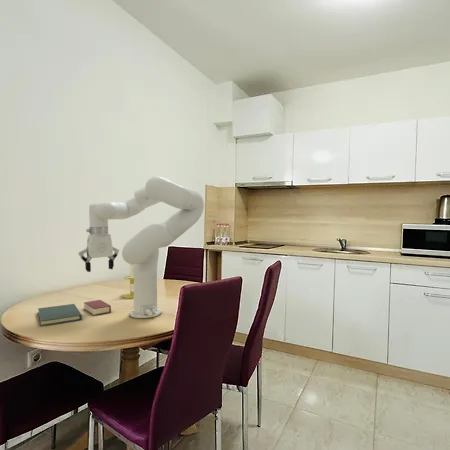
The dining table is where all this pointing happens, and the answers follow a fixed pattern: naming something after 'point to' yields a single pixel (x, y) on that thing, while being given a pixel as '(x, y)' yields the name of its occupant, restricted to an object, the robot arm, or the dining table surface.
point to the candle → (131, 277)
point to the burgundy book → (97, 307)
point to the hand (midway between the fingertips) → (99, 270)
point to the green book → (58, 314)
